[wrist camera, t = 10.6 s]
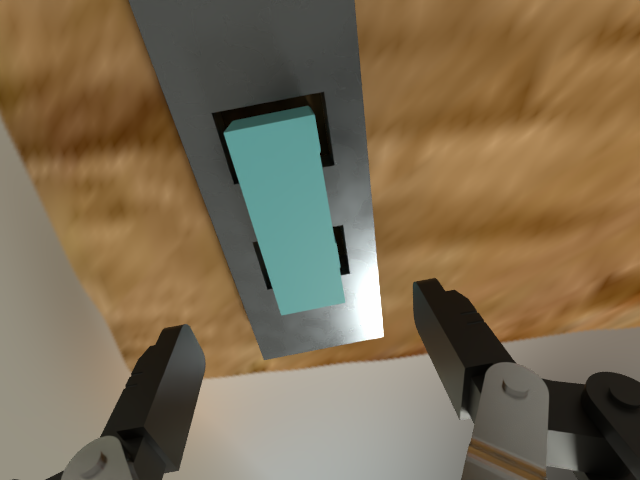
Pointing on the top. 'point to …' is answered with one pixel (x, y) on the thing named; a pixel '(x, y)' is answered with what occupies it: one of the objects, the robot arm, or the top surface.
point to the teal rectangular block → (288, 206)
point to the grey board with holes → (261, 87)
